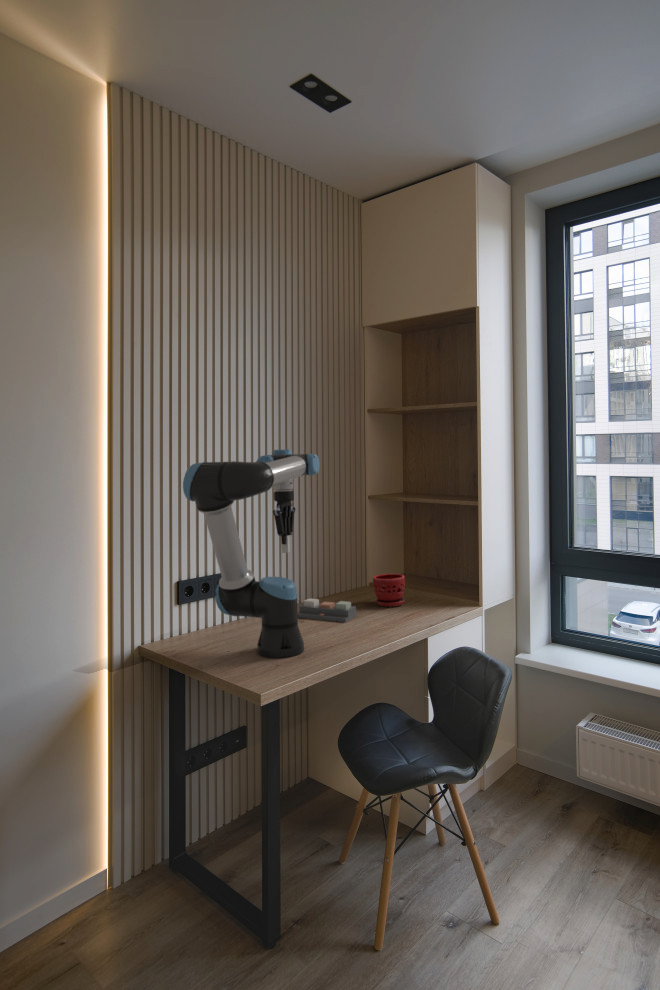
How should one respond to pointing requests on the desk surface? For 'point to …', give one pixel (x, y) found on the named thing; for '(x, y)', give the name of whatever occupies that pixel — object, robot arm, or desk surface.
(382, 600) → the plant pot
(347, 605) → the sage key
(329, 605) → the terracotta key
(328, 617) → the key console
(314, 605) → the ivory key
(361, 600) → the desk surface
